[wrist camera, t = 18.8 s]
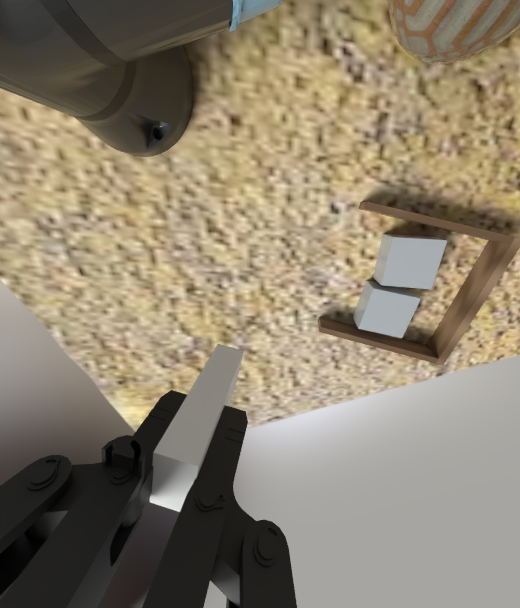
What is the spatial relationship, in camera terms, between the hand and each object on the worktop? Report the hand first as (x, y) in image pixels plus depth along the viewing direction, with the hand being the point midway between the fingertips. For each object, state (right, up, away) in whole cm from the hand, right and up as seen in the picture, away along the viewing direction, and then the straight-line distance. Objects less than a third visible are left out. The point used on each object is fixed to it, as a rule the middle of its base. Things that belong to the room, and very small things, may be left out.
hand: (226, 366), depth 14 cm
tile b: (+20, +4, +22) cm, 30 cm away
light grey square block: (+21, +10, +19) cm, 30 cm away
